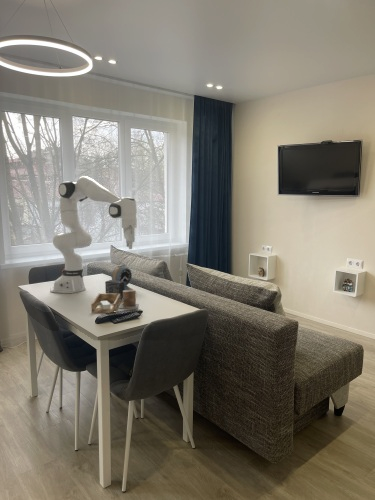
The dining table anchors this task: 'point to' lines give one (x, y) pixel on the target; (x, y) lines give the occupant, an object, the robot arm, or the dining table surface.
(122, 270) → the alarm clock
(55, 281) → the robot arm
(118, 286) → the small box
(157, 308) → the dining table surface
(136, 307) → the pad
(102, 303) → the offcut top
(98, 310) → the wooden tray
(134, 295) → the wooden block
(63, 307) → the dining table surface
